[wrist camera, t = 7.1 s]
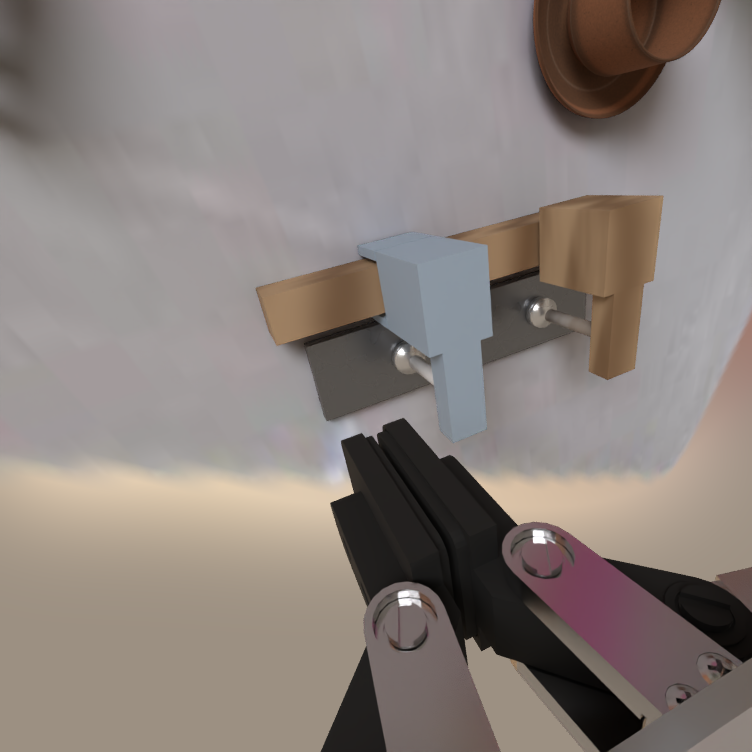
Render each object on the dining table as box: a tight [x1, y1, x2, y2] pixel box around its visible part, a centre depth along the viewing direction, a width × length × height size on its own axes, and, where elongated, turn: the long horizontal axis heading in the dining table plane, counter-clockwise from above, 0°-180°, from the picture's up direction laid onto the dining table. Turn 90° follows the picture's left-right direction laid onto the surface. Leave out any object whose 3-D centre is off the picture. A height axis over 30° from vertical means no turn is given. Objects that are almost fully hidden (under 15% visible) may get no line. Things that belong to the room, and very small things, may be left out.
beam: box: [256, 195, 663, 380], centre depth 28 cm, size 24×11×9 cm, turn 102°
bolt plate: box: [304, 271, 586, 421], centre depth 33 cm, size 24×6×2 cm, turn 102°
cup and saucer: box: [533, 0, 721, 119], centre depth 26 cm, size 12×12×6 cm
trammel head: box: [358, 232, 493, 443], centre depth 27 cm, size 4×11×9 cm, turn 12°
